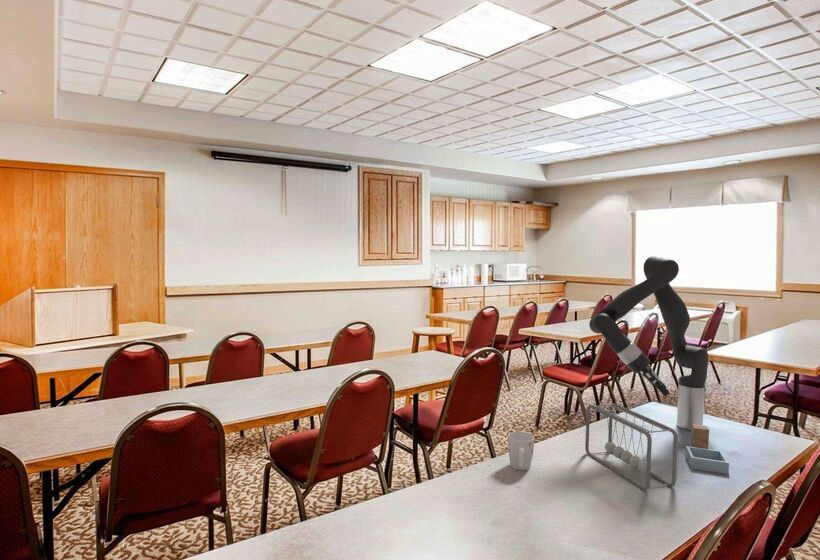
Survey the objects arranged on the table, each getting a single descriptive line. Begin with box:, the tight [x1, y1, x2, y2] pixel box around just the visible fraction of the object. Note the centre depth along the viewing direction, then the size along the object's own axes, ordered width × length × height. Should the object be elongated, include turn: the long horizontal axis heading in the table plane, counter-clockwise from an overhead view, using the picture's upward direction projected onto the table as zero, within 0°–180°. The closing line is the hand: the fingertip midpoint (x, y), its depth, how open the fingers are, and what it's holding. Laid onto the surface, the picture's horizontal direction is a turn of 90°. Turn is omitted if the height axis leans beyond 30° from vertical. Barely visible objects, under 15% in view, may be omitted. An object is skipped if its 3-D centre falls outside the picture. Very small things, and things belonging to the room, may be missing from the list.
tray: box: [685, 445, 730, 475], centre depth 164 cm, size 11×11×4 cm
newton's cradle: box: [584, 402, 679, 491], centre depth 158 cm, size 30×10×18 cm, turn 16°
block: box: [690, 424, 710, 449], centre depth 175 cm, size 4×4×9 cm
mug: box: [507, 431, 535, 471], centre depth 158 cm, size 11×8×10 cm
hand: (666, 391), depth 178 cm, fingers open, 8 cm apart
